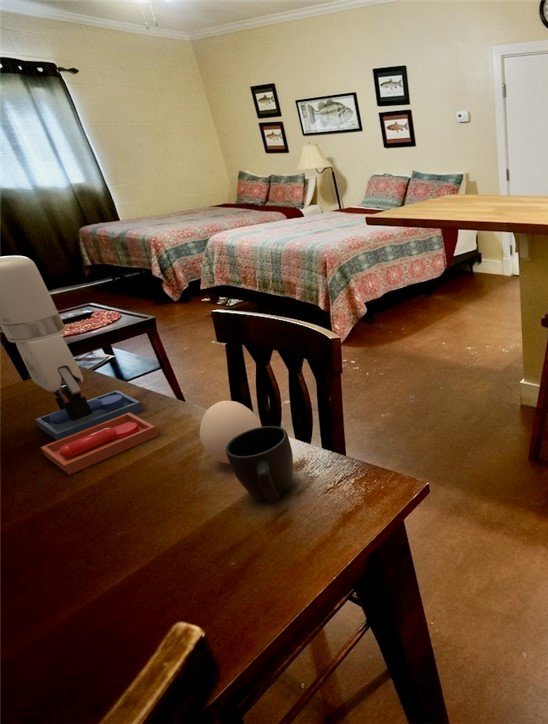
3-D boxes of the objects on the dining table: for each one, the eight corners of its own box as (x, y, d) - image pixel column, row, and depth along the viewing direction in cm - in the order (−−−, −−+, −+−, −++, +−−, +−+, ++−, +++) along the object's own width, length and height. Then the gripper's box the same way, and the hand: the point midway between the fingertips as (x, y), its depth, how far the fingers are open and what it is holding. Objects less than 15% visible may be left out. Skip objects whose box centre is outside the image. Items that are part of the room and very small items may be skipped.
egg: (279, 447, 85) (263, 392, 80) (243, 478, 78) (223, 419, 73) (238, 442, 87) (219, 387, 82) (199, 472, 79) (175, 414, 74)
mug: (244, 532, 67) (224, 479, 63) (242, 484, 76) (225, 435, 72) (307, 511, 71) (292, 459, 67) (298, 467, 80) (284, 420, 76)
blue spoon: (57, 429, 88) (51, 418, 87) (48, 423, 90) (43, 412, 89) (128, 402, 97) (123, 392, 96) (119, 397, 99) (114, 387, 98)
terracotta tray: (69, 474, 79) (64, 465, 78) (45, 456, 83) (40, 447, 82) (158, 435, 89) (155, 426, 88) (133, 420, 94) (129, 412, 93)
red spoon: (68, 463, 81) (62, 452, 80) (58, 456, 82) (52, 445, 81) (143, 431, 89) (139, 420, 88) (133, 425, 91) (128, 414, 90)
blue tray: (60, 443, 87) (56, 434, 86) (39, 427, 91) (34, 419, 91) (143, 410, 97) (140, 401, 96) (120, 397, 102) (117, 389, 101)
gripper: (-11, 325, 85) (37, 412, 93) (22, 343, 78) (71, 436, 86) (44, 313, 91) (84, 396, 99) (80, 328, 84) (120, 416, 92)
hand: (78, 414), depth 92 cm, fingers closed
